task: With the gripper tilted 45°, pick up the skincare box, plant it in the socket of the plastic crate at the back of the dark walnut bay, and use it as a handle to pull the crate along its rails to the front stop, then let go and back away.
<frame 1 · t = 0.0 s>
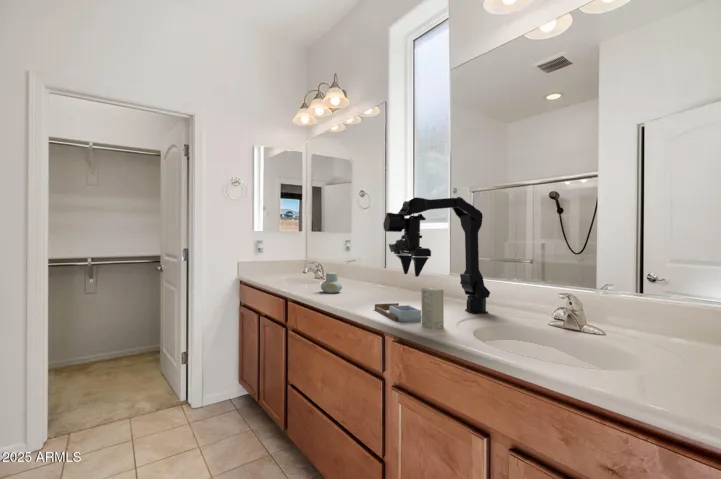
hand: (411, 275, 128), 15 cm above the countertop, tool pointing down, fingers open, 9 cm apart
crate: (404, 313, 122), point 2 cm above the countertop, slide at 9.0 cm
bay: (394, 313, 130), on the countertop
air freshener: (331, 292, 180), on the countertop
skincare box: (431, 327, 112), on the countertop
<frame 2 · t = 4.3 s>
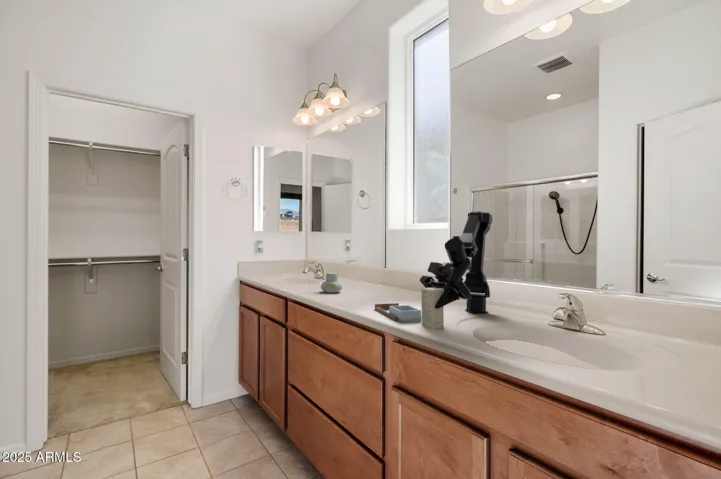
hand: (428, 306, 111), 7 cm above the countertop, tool tilted 45°, fingers closed on skincare box, 6 cm apart
skincare box: (431, 327, 112), on the countertop, touching gripper
everything else where it was.
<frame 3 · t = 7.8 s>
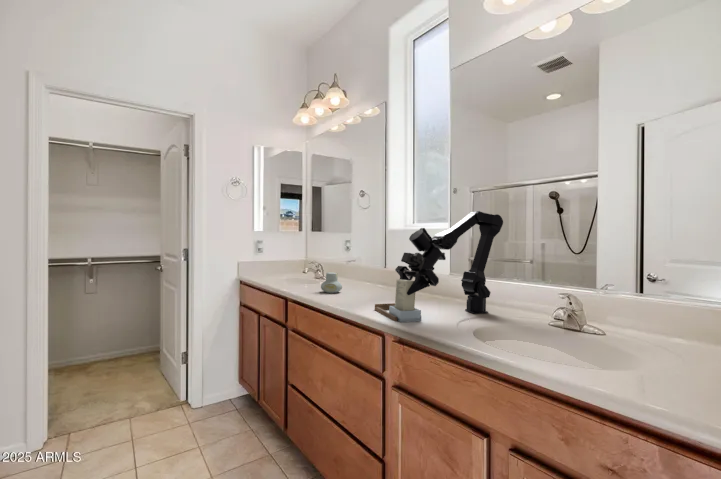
hand: (402, 293, 121), 9 cm above the countertop, tool tilted 45°, fingers closed on skincare box, 6 cm apart
crate: (404, 313, 122), point 2 cm above the countertop, slide at 9.0 cm, touching skincare box
skincare box: (403, 315, 122), point 1 cm above the countertop, touching crate, gripper
everything else where it was.
when the fingers open (8 cm above the countertop, at t = 12.3 s): skincare box moves 1 cm, resting on crate.
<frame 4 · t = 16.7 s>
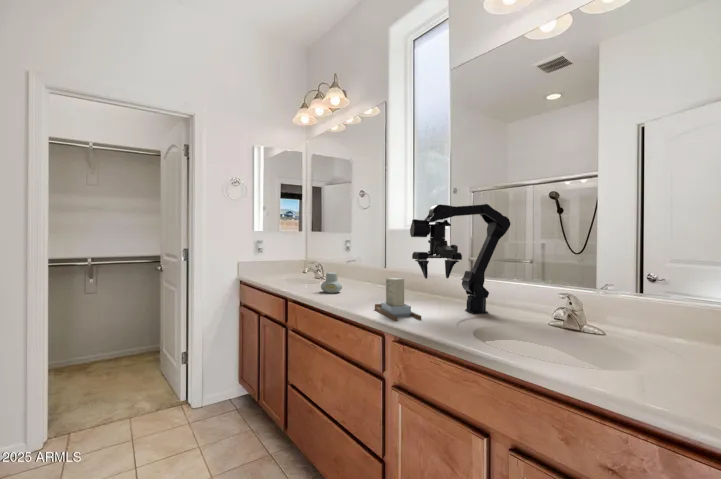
hand: (436, 278, 135), 13 cm above the countertop, tool pointing down, fingers open, 9 cm apart
crate: (395, 309, 129), point 2 cm above the countertop, slide at 1.3 cm, touching skincare box
skincare box: (394, 311, 129), point 1 cm above the countertop, touching crate
everything else where it was.
at the end: crate slide at 1.3 cm; skincare box 0.5 cm off-centre on the crate, point 0.8 cm above the crate's base; skincare box tilted 0° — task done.
